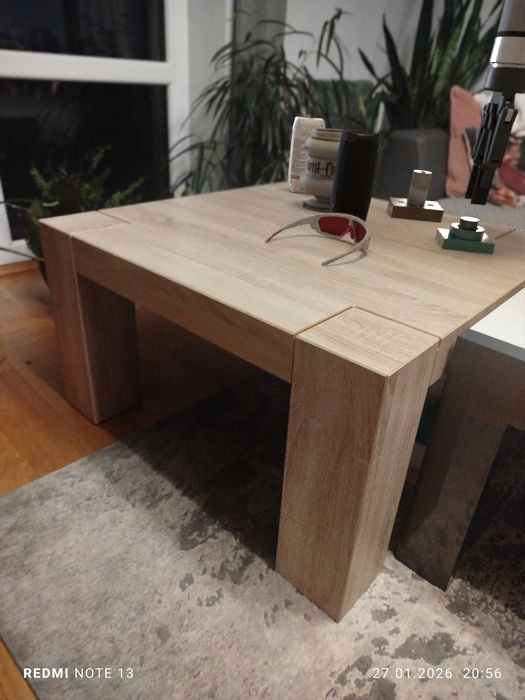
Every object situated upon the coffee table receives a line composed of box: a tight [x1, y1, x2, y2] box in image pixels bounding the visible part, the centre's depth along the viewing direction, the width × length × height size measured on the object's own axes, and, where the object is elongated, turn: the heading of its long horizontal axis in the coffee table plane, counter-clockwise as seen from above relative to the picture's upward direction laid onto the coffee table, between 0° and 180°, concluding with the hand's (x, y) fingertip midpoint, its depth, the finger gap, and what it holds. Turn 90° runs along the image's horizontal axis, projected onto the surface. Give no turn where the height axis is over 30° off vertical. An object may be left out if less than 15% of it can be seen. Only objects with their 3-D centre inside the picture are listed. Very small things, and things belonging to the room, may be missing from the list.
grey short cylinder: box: [458, 216, 480, 230], centre depth 102 cm, size 4×4×2 cm
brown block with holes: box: [386, 196, 445, 224], centre depth 125 cm, size 12×10×3 cm
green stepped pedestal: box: [434, 222, 496, 255], centre depth 103 cm, size 10×8×4 cm
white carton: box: [287, 116, 326, 194], centre depth 138 cm, size 8×9×19 cm
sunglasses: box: [264, 212, 372, 266], centre depth 95 cm, size 17×17×5 cm
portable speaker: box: [329, 128, 381, 232], centre depth 107 cm, size 9×9×20 cm
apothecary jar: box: [300, 127, 344, 213], centre depth 122 cm, size 12×12×18 cm
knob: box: [406, 169, 433, 205], centre depth 122 cm, size 4×4×8 cm
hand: (474, 201), depth 100 cm, fingers open, 4 cm apart
